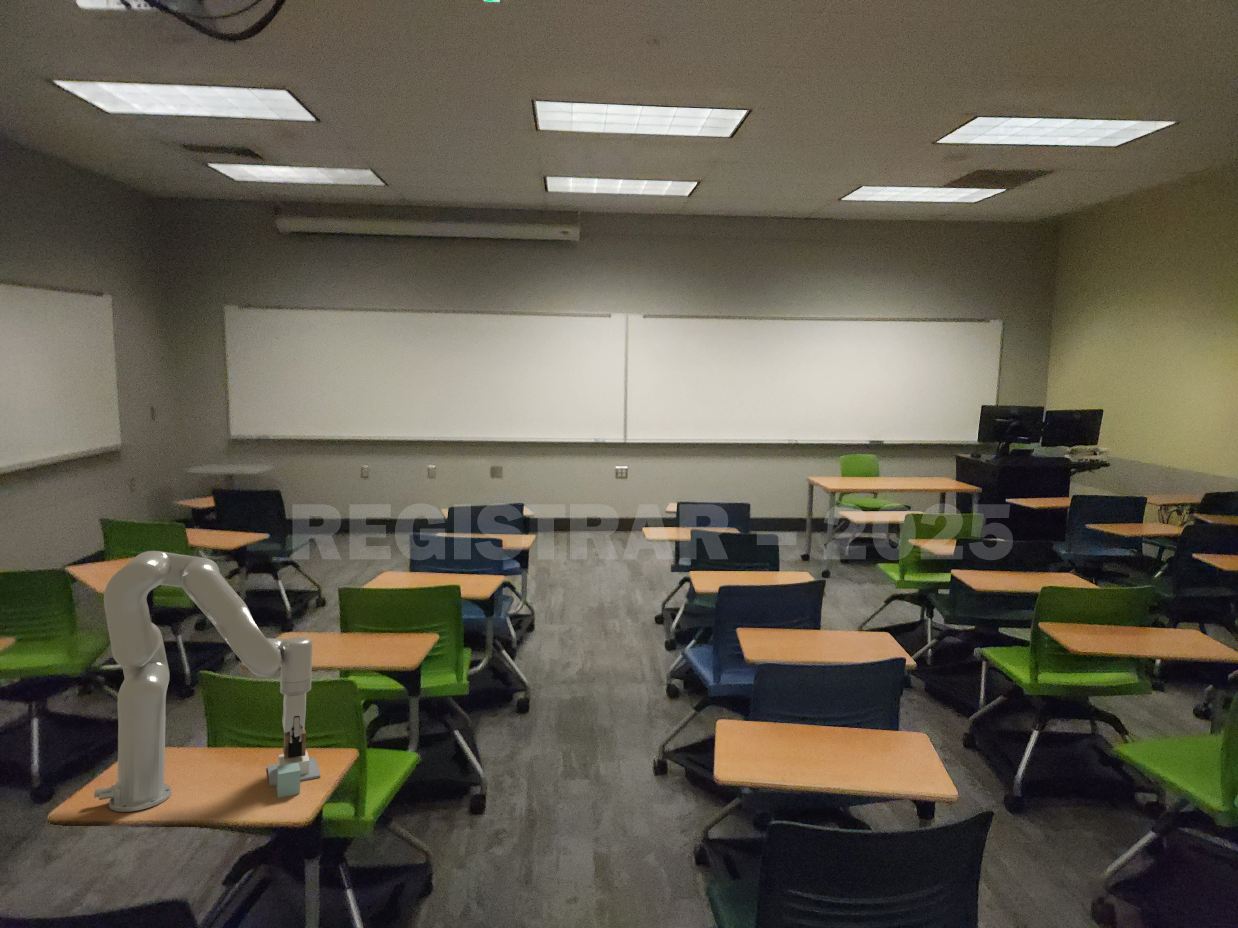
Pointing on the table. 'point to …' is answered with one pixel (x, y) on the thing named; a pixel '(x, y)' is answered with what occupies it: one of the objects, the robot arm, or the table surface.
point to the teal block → (288, 780)
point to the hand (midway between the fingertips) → (294, 751)
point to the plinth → (302, 777)
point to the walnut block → (287, 740)
